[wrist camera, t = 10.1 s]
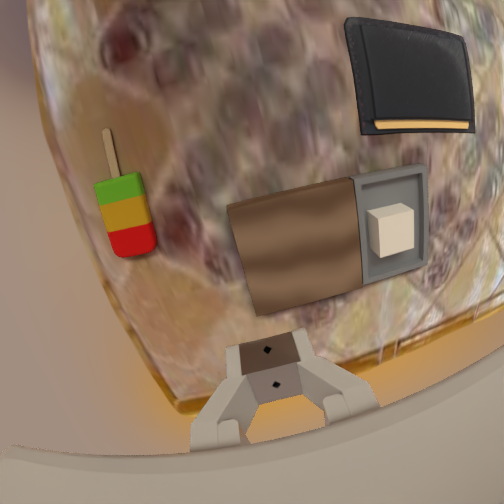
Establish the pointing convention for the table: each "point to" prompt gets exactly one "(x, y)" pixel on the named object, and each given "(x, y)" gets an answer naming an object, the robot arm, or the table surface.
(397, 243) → the cream rectangular block
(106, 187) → the popsicle
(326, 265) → the ramp
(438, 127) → the wallet
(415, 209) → the box
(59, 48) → the table surface
